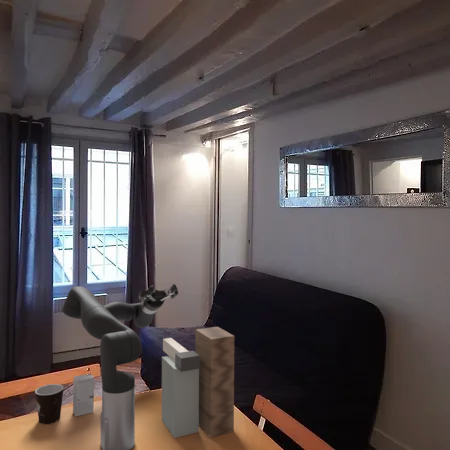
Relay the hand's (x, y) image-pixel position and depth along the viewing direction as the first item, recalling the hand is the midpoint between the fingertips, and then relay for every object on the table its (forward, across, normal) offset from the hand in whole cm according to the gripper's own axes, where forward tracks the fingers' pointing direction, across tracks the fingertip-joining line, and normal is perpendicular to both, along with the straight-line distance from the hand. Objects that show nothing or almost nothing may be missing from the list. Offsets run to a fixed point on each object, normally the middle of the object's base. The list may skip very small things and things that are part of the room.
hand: (163, 287), depth 151 cm
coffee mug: (-20, -39, +36) cm, 57 cm away
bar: (+7, -2, +27) cm, 28 cm away
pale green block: (-2, -2, +46) cm, 46 cm away
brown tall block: (+2, +8, +49) cm, 49 cm away
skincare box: (-22, -28, +35) cm, 50 cm away
